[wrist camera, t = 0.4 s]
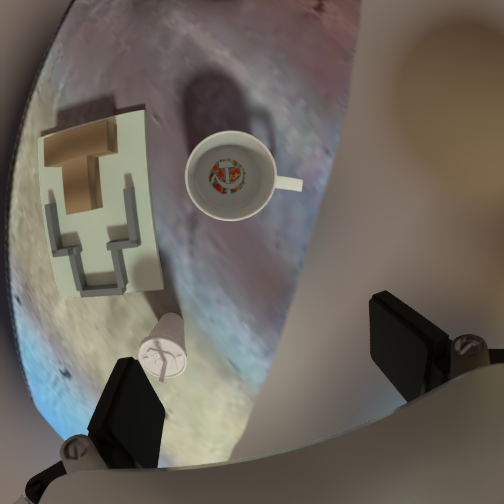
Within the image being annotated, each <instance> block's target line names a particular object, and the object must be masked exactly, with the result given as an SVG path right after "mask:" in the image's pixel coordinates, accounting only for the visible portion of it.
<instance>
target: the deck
mask: <svg viewBox="0 0 504 504" xmlns="http://www.w3.org/2000/svg"><path fill="white" fill-rule="evenodd" d="M103 120H108V121H110V122H112V123H114V124H115V125H117V142H118V153H117V154H112V155H107V156H103V157H99V170H100V182H101V192H102V202H103V208H99V209H95V210H91V211H85V212H80V213H74V214H69V215H66V209H65V201H64V191H63V180H62V167H44V138H46V137H49V136H52V135H55V134H58V133H61V132H64V131H67V130H71V129H74V128H77V127H81V126H84V125H88V124H92V123H95V122H99V121H103ZM38 166H39V182H40V194H41V204H42V212H43V219H44V226H45V232H46V238H47V244H48V249H49V254H50V259H51V264H52V268H53V272H54V277H55V281H56V285H57V288H58V292H59V296H60V297H70V296H81V297H95V296H110V295H123V294H124V293H129V292H141V291H153V290H163V289H164V287H165V286H164V280H163V275H162V269H161V262H160V256H159V250H158V243H157V236H156V228H155V220H154V212H153V203H152V194H151V183H150V172H149V159H148V143H147V121H146V111H145V110H140V111H134V112H129V113H125V114H120V115H116V116H111V117H107V118H103V119H99V120H95V121H91V122H88V123H84V124H81V125H77V126H74V127H70V128H67V129H64V130H61V131H58V132H55V133H52V134H49V135H46V136H43V137H40V138H38Z"/></svg>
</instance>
